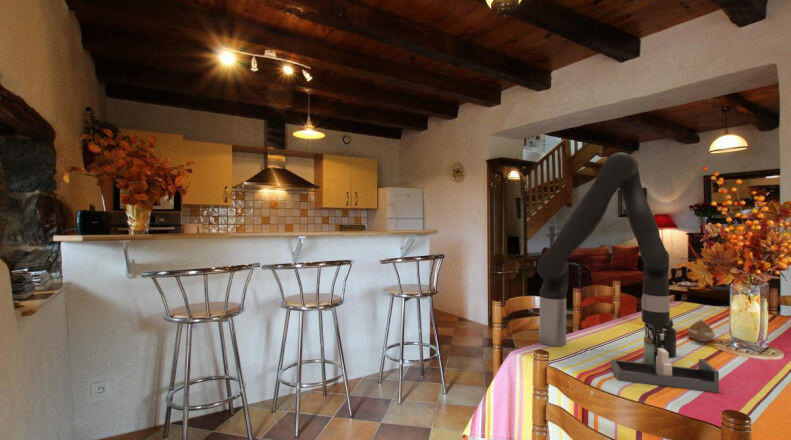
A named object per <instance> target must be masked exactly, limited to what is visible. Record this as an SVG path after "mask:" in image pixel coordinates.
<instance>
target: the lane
mask: <svg viewBox="0 0 791 440" xmlns="http://www.w3.org/2000/svg"><path fill="white" fill-rule="evenodd" d="M610 367H611V370H612V372H613V371H614V372H613V374H614V373H615V374H614V375H615V377H616V379H617V380H618V381H622V382H629V383H639V384H644V385H645V384H646V385H655V386H661V387H662V386H663V387H670V388H678V389H686V390H693V391H695V390H696V391H702V392H709V393H710V392H711V393H719V391H720V390H719V389H720V388H719V387H720V384H719V382H720V372H719V371H718V370H717V369H716V368H714V367H713V366H712V365H711V364H710V363H708V361H706V360H705V359H703V358H699V359H698V368H693V367H685V366H674V365H672V376H665V375H658V374H657V373H656V364H649V363H644V362H638V361H630V360H621V359H610Z"/></svg>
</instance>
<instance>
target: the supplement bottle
mask: <svg viewBox="0 0 791 440" xmlns="http://www.w3.org/2000/svg"><path fill="white" fill-rule="evenodd" d="M662 328H663V331H664V334H666V335H667V345H666V351H667V352H668V353H669V358H674V357H676V356H677V330H676V329H675V328H674V321H673V320H672V319H670V324H669V325H667V326H663V327H662Z"/></svg>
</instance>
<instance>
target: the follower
mask: <svg viewBox="0 0 791 440" xmlns="http://www.w3.org/2000/svg"><path fill="white" fill-rule="evenodd" d="M669 358H670V357H669V353H668V352H667V351H666V350H665V349H664V348H658V356H656V373H657V374H658V375H665V376H672V366H673V364H671V362H670V361H669Z"/></svg>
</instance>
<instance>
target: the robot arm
mask: <svg viewBox="0 0 791 440" xmlns="http://www.w3.org/2000/svg"><path fill="white" fill-rule="evenodd" d="M617 190H619V191H620V193H621V195H622V199H623V202H624V206H625V210H626V216H627V219H628V223H629V225H630V228H631V231H632V233H633V235H634V239H636V243H637V246H638V251H639V253H640V257H641V260H642V261H643V263H644V264H643V273H644V274H643V279H642V297H641V322H643V323H644V333H645V335H644V337H650V338H651V341H652V344H653V345H654V363H655V364H656V356H658V348H659V345H661V348H664V349H665V350H666V344H667V335H666V334H664V331H663V328H662V327H663V326H667V325H669V324H670V320H671V319H670V317H671V316H670V315H671V312H670V309H671V306H670V305H671V304H670V303H671V302H670V283H669V282H670V281H669V270H670V268H669V266H670V255H669V252H668V251H667V250H666V247H665V246H664V242H663V240H662V238H661V236H660V230H659V227H658V225H657V222H656V219H655V217H654V214H653V212H652V210H651V207H650V204H649V203H648V201H647V198H646V195H645V192H644V189H643V186H642V180H641V177H640V170H639V163H638V161H637V160H636V158H635V157H634V156H633V155H631V154H629V153H626V152H623V151H622V152H621V151H620V152H615V153H613V154H611V155H609V157H607V158H606V159H605V161H604V162H603V165H602V167H601V168H600V170H599V172H598V174H597V176H596V178H595V180H594V182H593V184H592V185H591V187H589V188H588V190H587V192H586V193H585V195H584V196H583V197H582V199H581V200H580V201H579V203H578V204H577V206H575V208H574V209H573V211H572V213H570V216H569V217H568V219H567V221H566V222H565V223H564V225H563V227H562V228H561V230H560V232H559V233H558V235H557V237H556V239H555V240H554V241H553V243H552V244H551V245H550V247H549V248H548V249H547V250H546V251H545V252H544V254H543V255H541V257H540V258H539V259H538V262H537V265H536V271H537V274H538V275H539V276H540V277H541V278H542V279H543V282H542V285H541V288H540V289H539V316H538V317H539V319H538V320H539V322H538V323H539V324H538V325H539V327H538V328H539V329H538V333H539V334H538V338H539V339H538V340H539V341H538V342H539V344H543V345H545V346H551V347H562V346H563V347H564V346H566V344H567V342H566V341H567V292H568V290H569V277H570V276H569V274H570V273H569V272H570V269H569V264H568V260H569V258H570V257H571V256H572V254H573V253H574V252H575V250H577V248H579V247H580V246H581V245H582V244H583V243H584V242H585V241H587V239H588V238H589V237H591V235H592V234H593V233H594V231H595V229H596V228H597V227H598V225H599V224H600V223H601V221H602V219H603V218H604V216H605V214H606V211H607V209H608V207H609V203H610V201H611V200H612V198H613V196H614V195H615V194H616V192H617ZM655 341H656V342H655Z"/></svg>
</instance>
